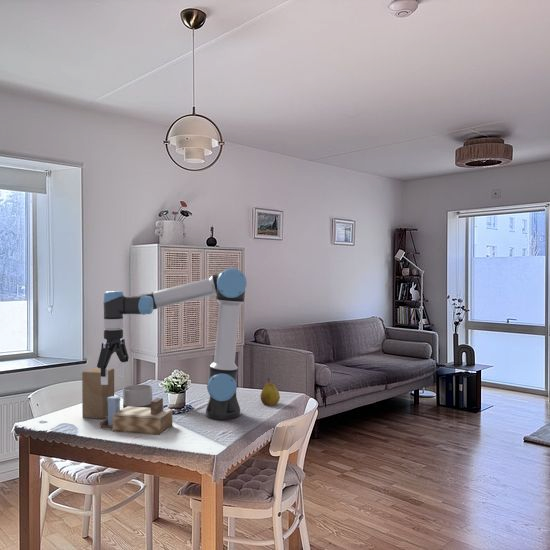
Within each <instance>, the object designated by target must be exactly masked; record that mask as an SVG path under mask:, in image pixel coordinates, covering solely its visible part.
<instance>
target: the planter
mask: <svg viewBox="0 0 550 550" xmlns="http://www.w3.org/2000/svg"><path fill="white" fill-rule="evenodd" d="M151 401H153V386H152V385H150V384H131V385H127V386H124V387H123V388H122V404H123V405H122V409H123V408H125V407H127V406H131V407H146V408H151Z"/></svg>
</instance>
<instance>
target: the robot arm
mask: <svg viewBox="0 0 550 550" xmlns="http://www.w3.org/2000/svg"><path fill="white" fill-rule="evenodd" d="M246 288H247V278H246V276H245V274H244V273H243V272H242V271H241V270H240V269H238V268H234V267H233V268H231V267H228V268H225V269H224V270H222V271H220V272H218V273H216V274H211V275H210V277H209V278H205V279H200V280H197V281H192V282H189V283H185V284H179V285H176V286H172V287H167V288H163V289H160V290H156V291H151V292H147V293H142V294H140V295H124V292H123V291H122V290H110V291H105V292H104V293H103V294H104V295H103V339H104V340H106V342H102V343H101V348H100V353H99V357H98V360H97V365H96V368H101V385H108V368H109V367H108V364H109V363H110V360H111V357H112V355H113V354H114V353H115V355H116V356H117V358H118V360H119V362H118V378H123V379H125V378H126V374H127V373H126V372H127V371H126V366H127V365H126V362H127V363H128V362H129V357H130V356H129V353H128V350H127V346H126V340H125V338H124V330H123V328H124V315H151V314H152V313H153V311H154V310H158V309H161V308H162V309H163V308H165V307H170V306H174V305H178V304H181V303H182V304H183V303H187V302H190V301H194V300H198V299H203V298H207V297H211V296H215V297H216V298H215V300H216V301H217V302H216V303H218V316H217V324H216V325H217V326H216V336H215V347H214V357H213V362H212V363H210V364H209V371H208V382H207V384H206V385H207V386H206V388H207V393H208V394H209V399H208V403H207V406H206V409H205V417H206V418H208V419H211V420H233V419H235V418H238V417H240V416H241V407H240V405H239V401H238V397H237V381H238V371H239V367H238V366H237V364H236V363H235V362H236V353H237V352H236V351H237V343H238V342H237V340H238V332H239V331H238V330H239V322H240V321H239V320H240V309H241V306H242V305H243V304H244V303H245V297H246V296H245V294H246Z"/></svg>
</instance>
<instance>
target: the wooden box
mask: <svg viewBox="0 0 550 550" xmlns="http://www.w3.org/2000/svg"><path fill="white" fill-rule="evenodd" d="M172 427H173V411H172V412H170V413H168V414H167V415H165V416H164V417H162V418H161V419H154V418H140V417H126V416H113V429H112V432H115V433H127V434H139V435H140V434H141V435H154V436H155V435H156V436H161V435H162V434H163V433H165V432H166V431H167V430H169V429H170V428H172Z"/></svg>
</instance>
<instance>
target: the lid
mask: <svg viewBox="0 0 550 550" xmlns="http://www.w3.org/2000/svg"><path fill="white" fill-rule="evenodd" d="M170 412H172V413H173V409H171V408H164V398H163V397H156V398H155V399H154V398H153V399H152V401H151V408H146V407H131V406H127V407H125V408H123V407H122V409H121V408H120V410H119V411H117V412H115V413H114V414H113V416H126V417H140V418H154V419H161V418H162V417H164V416H165V415H167V414H168V413H170Z"/></svg>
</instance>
